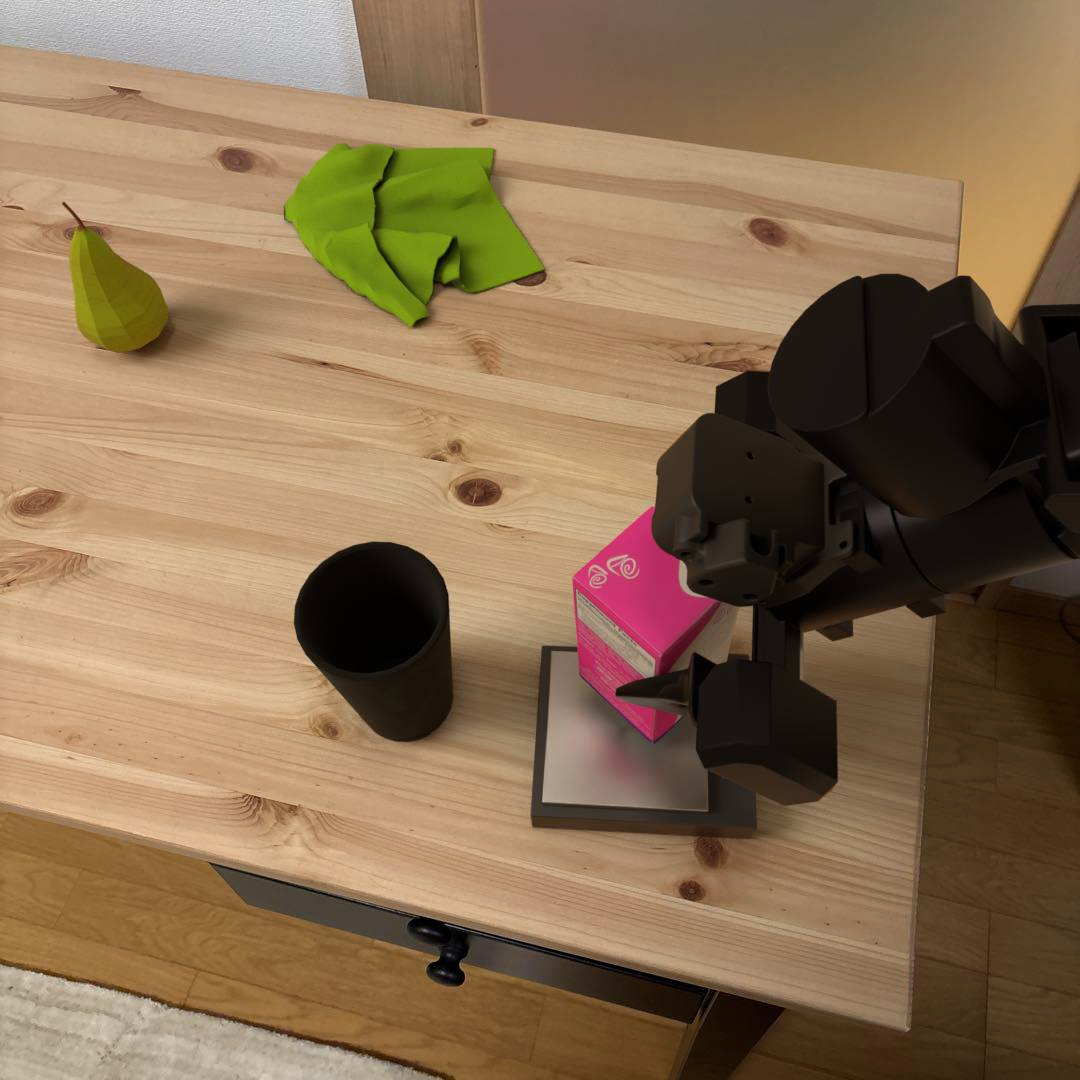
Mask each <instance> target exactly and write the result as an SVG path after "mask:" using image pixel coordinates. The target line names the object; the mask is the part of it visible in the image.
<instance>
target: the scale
mask: <svg viewBox="0 0 1080 1080" xmlns="http://www.w3.org/2000/svg"><path fill="white" fill-rule="evenodd" d="M540 651H541V653H540V665H539V667H540V669H539V681H538V683H539V684H538V697H537V713H536V725H535V726H536V728H535V740H534V755H533V757H534V758H533V772H532V788H531V800H530V802H531V803H530V822H531V827H532V828H537V829H539V828H540V829H557V830H574V831H575V830H576V831H592V832H593V831H594V832H610V833H629V834H630V833H632V834H645V835H646V834H647V835H648V834H650V835H665V836H666V835H667V836H684V837H702V838H703V837H704V838H720V839H740V840H751V838H752V836H753V835H754V834H755V832H756V830H757V828H758V818H757V798H756V797H757V796H756V794H757V793H755V792H753V791H751V790H749V789H747V788H745V787H743V786H740V785H738V784H736V783H734V782H732V781H730V780H728V779H725V778H723V777H721V776H719V775H717V774H715V773H713V772H710V771H708V770H706V769H704V767H703V765H702V763H701V761H700V758H699V756H698V754H697V752H696V732H697V728H695V727H694V726H693V724H692V723H691V721H690V720H689V717H686V716H684V717H683V718H682V719H681V720H680V721H679V722H678V723H677V724H676V725H675V726H674V727H673V728H672V729H671V730H670V731H669V732H668V733H667V734H665V735H664V736H663V737H662V738H661V739H660V740H659V741H658V742H656V743H655V744H652V743H651V742H650V741H649V740H647V739H646V738H645V737H644V736H643V735H642V734H641V733H640V732H639V731H638V730H636V729H635V728H634V727H633V726H632V725H631V724H630V723H629V722H628V721H627V720H626V719H625V718H624V717H623V716H621V715H620V714H619V713H618V712H617V711H616V710H615V709H614V708H613V707H612V706H611V705H610V704H609V703H608V702H607V701H606V700H605V699H604V698H602V697H601V696H600V695H599V694H598V693H597V692H596V691H595V690H594V689H593V688H592V687H591V686H590V685H589V684H588V683H587V682H585V681H584V680H583V679H582V678H581V677H580V675H579V662H578V649H577V646H567V645H566V646H565V645H549V644H548V645H546V644H545V645H541V650H540ZM735 659H743V660H750V655H749V654H748V653H747V654H746V653H728V658H727V662H728V661H731V660H735Z"/></svg>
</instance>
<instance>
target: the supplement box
mask: <svg viewBox="0 0 1080 1080" xmlns="http://www.w3.org/2000/svg"><path fill="white" fill-rule="evenodd" d="M654 511H655V503H653V504H652V505H651V506H649V508H648V509H646V510H645V512H643V513H642V514H641V515H640V516H639V517H637V518H636V519H635V520H634V521H633V522H632V523H631V524H629V525H628V526H627V527H626V528H625V529H624V530H622V532H620V534H618V535H617V536H616V537H615V538H614V539H613V540H612V541H610V542H609V544H607V545H606V546H605V547H604V548H602V549H601V550H600V551H599V552H598V553H597V554H596V555H595V556H594V557H592V558H591V559H590V560H589V561H588V562H587V563H585V565H584V566H582V567H581V568H580V569H579V570H578V571H577V572H576V573H575V574H573V575H572V577H571V582H572V583H571V584H572V593H573V595H572V597H573V608H574V622H575V634H576V647H577V649H578V662H579V675H580V677H581V678H582V679H583V680H584V681H585V682H587V683H588V684H589V685H590V686H591V687H592V688H593V689H594V690H595V691H596V692H597V693H598V694H599V695H600V696H601V697H602V698H604V699H605V700H606V701H607V702H608V703H609V704H610V705H611V706H612V707H613V708H614V709H615V710H616V711H617V712H618V713H619V714H620V715H621V716H623V717H624V718H625V719H626V720H627V721H628V722H629V723H630V724H631V725H632V726H633V727H634V728H635V729H636V730H638V731H639V732H640V733H641V734H642V735H643V736H644V737H645V738H646V739H647V740H649V741H650V742H651V743H652V744H655V743H656V742H658V741H659V740H660V739H661V738H662V737H663V736H664V735H665V734H667V733H668V732H669V731H670V730H671V729H672V728H673V727H674V726H675V725H676V724H677V723H678V722H679V721H680V720H681V719H682V718H683V717H684V716H682V715H678V714H673V713H669V712H664V711H660V710H656V709H651V708H647V707H643V706H638V705H634V704H630V703H627V702H625V701H623V700H621V699H619V698H617V697H616V696H615V692H616V688H618V687H620V686H622V685H625V684H627V683H629V682H632V681H635V680H639V679H643V678H648V677H652V676H657V675H661V674H666V673H670V672H675V671H679V670H684V669H687V668H688V666H689V662H690V658H691V655H692V653H694V652H696V653H698V654H700V655H701V656H703V657H705V658H707V659H709V660H710V661H712V662H714V663H716V664H720V663H724V662H727V658H728V654H730V649H731V644H732V640H733V635H734V631H735V627H736V623H737V619H738V614H739V610H740V607H736V606H733V605H730V604H727V603H724V602H721V601H718V600H715V599H711V598H708V597H705V596H702V595H699V594H696V593H693V592H692V591H691V590H690V589H689V588H688V586H687V584H686V582H687V568H686V565H685V563H684V562H683V561H681V560H678V559H676V558H675V557H674V556H672V555H669V554H667V553H666V552H664V551H663V550H662V549H661V548H660V547H659V546H658V545H657V544H656V542H655V540H654V538H653V536H652V532H651V522H652V516H653V514H654Z"/></svg>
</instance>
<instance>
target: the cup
mask: <svg viewBox="0 0 1080 1080" xmlns="http://www.w3.org/2000/svg"><path fill="white" fill-rule="evenodd" d="M293 611H294V613H293V615H294V616H293V626H294V630H295V636H296V640H297V641H298V642H297V643H299V646H300V647H301V649H302V651H303V653H304V654H305V656H306V657H307V658H308V659H309V660H310V662H311V663H312V664H313V665H314V666H315V667H316V668H317V670H318V671H319V672H320V673H321V674H322V675H323V676H324V677H325V678H326V680H327V681H328V682H329V683H330V684H331V685H332V686H333V687H334V689H335V690H336V691H337V692H338V693H339V695H341V697H342V698H343V699H344V700H345V701H346V702H347V703H348V704H349V706H350V707H351V708H352V709H353V710H354V711H355V712H356V714H357V715H358V716H359V717H360V718H361V719H362V720H363V722H364V723H365V724H366V725H367V726H368V727H369V728H370V729H371V730H372V731H373V732H374V734H375V735H376V734H377V736H380V737H381V738H383V739H385V740H388V741H391V742H392V741H393V742H395V743H409V742H415V741H419V740H421V739H423V738H426V737H428V736H430V735H432V734H433V733H434V732H436V731H437V730H438V729H439V728H440V727H441V726H442V724H444V722H445V721H446V720H447V718H448V716H449V714H450V712H451V710H452V707H453V706H452V705H453V701H454V683H453V681H454V680H453V659H452V658H453V657H452V637H451V636H452V635H451V618H450V616H451V615H450V614H451V613H450V594H449V591H448V588H447V584H446V581H445V578H444V576H443V575H442V573H441V572H440V571H439V569H438V567H437V566H436V564H434V562H432V560H430V559H429V558H428V557H427V556H426V555H425V554H423V553H421V552H420V551H418V550H416V549H414V548H413V547H410V546H408V545H404V544H401V543H397V542H393V541H367V542H362V543H356V544H353V545H349V546H347V547H345V548H342V549H340V550H338V551H336V552H334V553H333V554H331V555H330V556H328V557H327V558H326V559H324V560H323V561H321V562H320V563H319V564H318V565H317V566H316V567H315V568H314V569H313V570H312V571H311V572H310V573H309V575H308V576H307V578H306V580H305V581H304V582H303V584H302V586H301V588H300V590H299V592H298V595H297V598H296V601H295V604H294V610H293Z"/></svg>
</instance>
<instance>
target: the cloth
mask: <svg viewBox="0 0 1080 1080" xmlns="http://www.w3.org/2000/svg"><path fill="white" fill-rule="evenodd" d="M494 151H495V149H494V147H457V146H455V147H419V148H418V147H417V148H395V147H392V146H388V145H384V144H379V143H367V144H365V145H362V146H359V147H355V148H352V147H351V145H349V144H348V143H347V142H341V143H340V142H339V143H336V144H335V145H333V146H332V147H331V148H330V149H329V150H328V151H327V152H326V153H325V154H323V156H321V157H320V158H319V159H318V160H317V161H315V162H314V163H313V165H312V167H311V168H310V171H309V172H308V173H307V174H305V175H304V176H303V177H302V178H301V179H300V180H299V181H298V183H297V186H296V188H295V189H294V191H293V192H292V194H291V195H290V197H289V198H288V199H287V201H286V202H285V203H284V205H283V220H284V221H286V222H287V221H288V222H291V223H292V224H293V227H294V228H295V231H296V233H297V234H298V237H299V239H300V241H301V242H302V244H303V246H304V247H305V248H306V249H307V250H308V251H309V253H310V254H311V255H312V256H313V258H314V259H315V260H316V261H317V262H318V264H320V265H321V266H322V267H324V268H326V270H327V271H328V272H329V273H330V274H331V275H332V276H333V277H334V278H336V279H338V280H339V281H341V282H343V283H344V284H345V285H346V287H348V288H349V289H350V290H351V291H352V292H353V293H355V294H357V295H359V296H361V297H364V298H365V299H368V300H369V301H370V302H371V303H372V304H374V306H376V307H377V308H379V309H380V310H382V311H384V312H386V313H388V314H391V315H394V316H396V317H398V319H400V320H401V321H402V322H403V323H404V324H405V325H407V327H409V328H412V327H413V326H414V324H415V323H416V322H417V321H419V320H420V319H423V318H429V317H430V314H429V312H428V309H427V305H428V303H429V302H430V300H431V297H432V295H433V293H434V281H435V282H438V283H441V284H442V285H444V286H447V285H448V286H449V285H451V286H454V287H455V288H456V289H457V290H460V291H463V292H466V293H470V294H473V293H481V292H483V291H487V290H489V289H494V288H496V287H500V286H503V285H505V284H508V283H511V282H514V281H517V280H520V279H523V278H526V277H529V276H532V275H534V274H538V273H540V272H543V271H545V268H544V266H543V265H542V263H541V262H540V259H539V258H538V256H537V255H536V254H535V252H534V251H533V249H532V248H531V246H530V245H529V243H528V242H527V241H526V238H524V236H523V234H522V233H521V232H520V231H521V230H519V228H518V227H517V225H516V224H515V223H514V220H513V219H512V218H511V217H510V215H509V213H508V211H507V210H506V209H505V208H504V206H503V205H502V203H501V202H500V200H499V198H498V196H497V195H496V192H495V191H494V189H493V186H492V185H491V182H490V178H491V173H492V166H493V160H494V159H493V158H494Z"/></svg>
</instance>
